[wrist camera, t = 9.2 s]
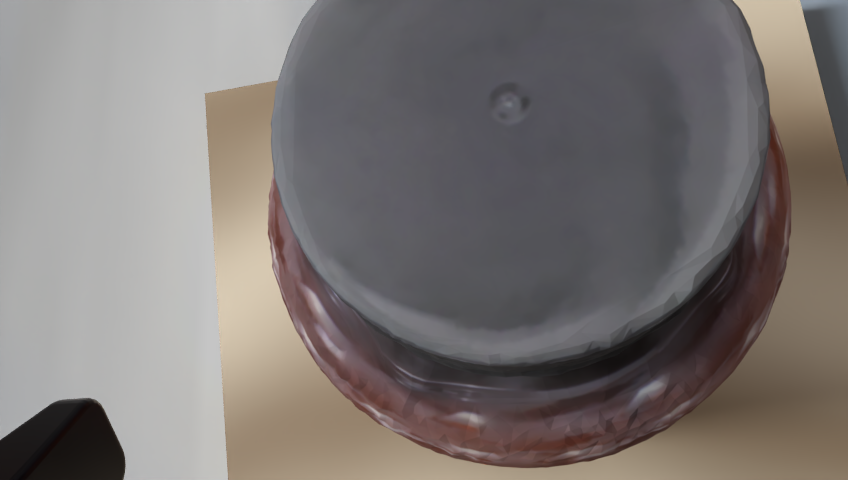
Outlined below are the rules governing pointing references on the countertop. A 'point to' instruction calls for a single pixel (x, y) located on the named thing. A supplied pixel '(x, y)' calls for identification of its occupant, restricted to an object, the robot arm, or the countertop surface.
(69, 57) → the countertop surface
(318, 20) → the supplement bottle
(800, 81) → the birch board
